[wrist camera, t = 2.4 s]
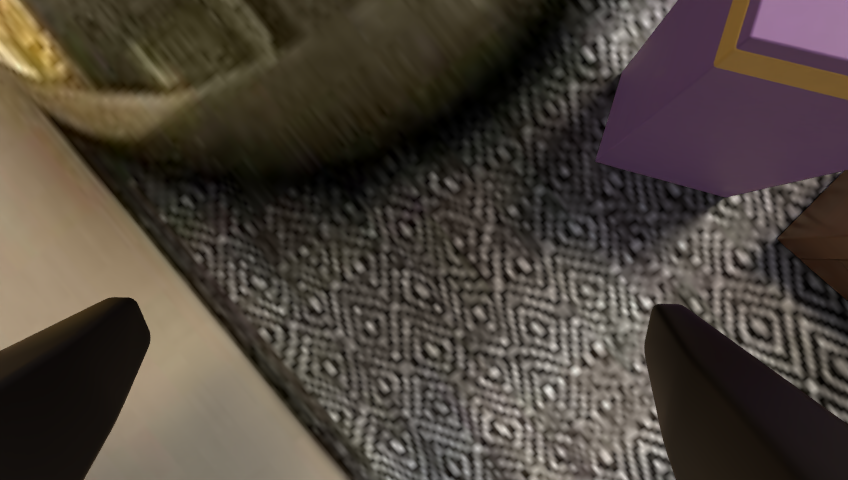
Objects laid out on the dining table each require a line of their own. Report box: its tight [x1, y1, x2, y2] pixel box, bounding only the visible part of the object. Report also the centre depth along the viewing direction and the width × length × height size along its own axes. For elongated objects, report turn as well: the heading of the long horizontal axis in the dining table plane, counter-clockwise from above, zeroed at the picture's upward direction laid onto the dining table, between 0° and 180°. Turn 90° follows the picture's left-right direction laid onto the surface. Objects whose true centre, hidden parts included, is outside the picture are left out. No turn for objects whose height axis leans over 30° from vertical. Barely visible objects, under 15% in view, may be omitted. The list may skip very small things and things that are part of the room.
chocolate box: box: [595, 0, 848, 197], centre depth 16 cm, size 4×6×13 cm
